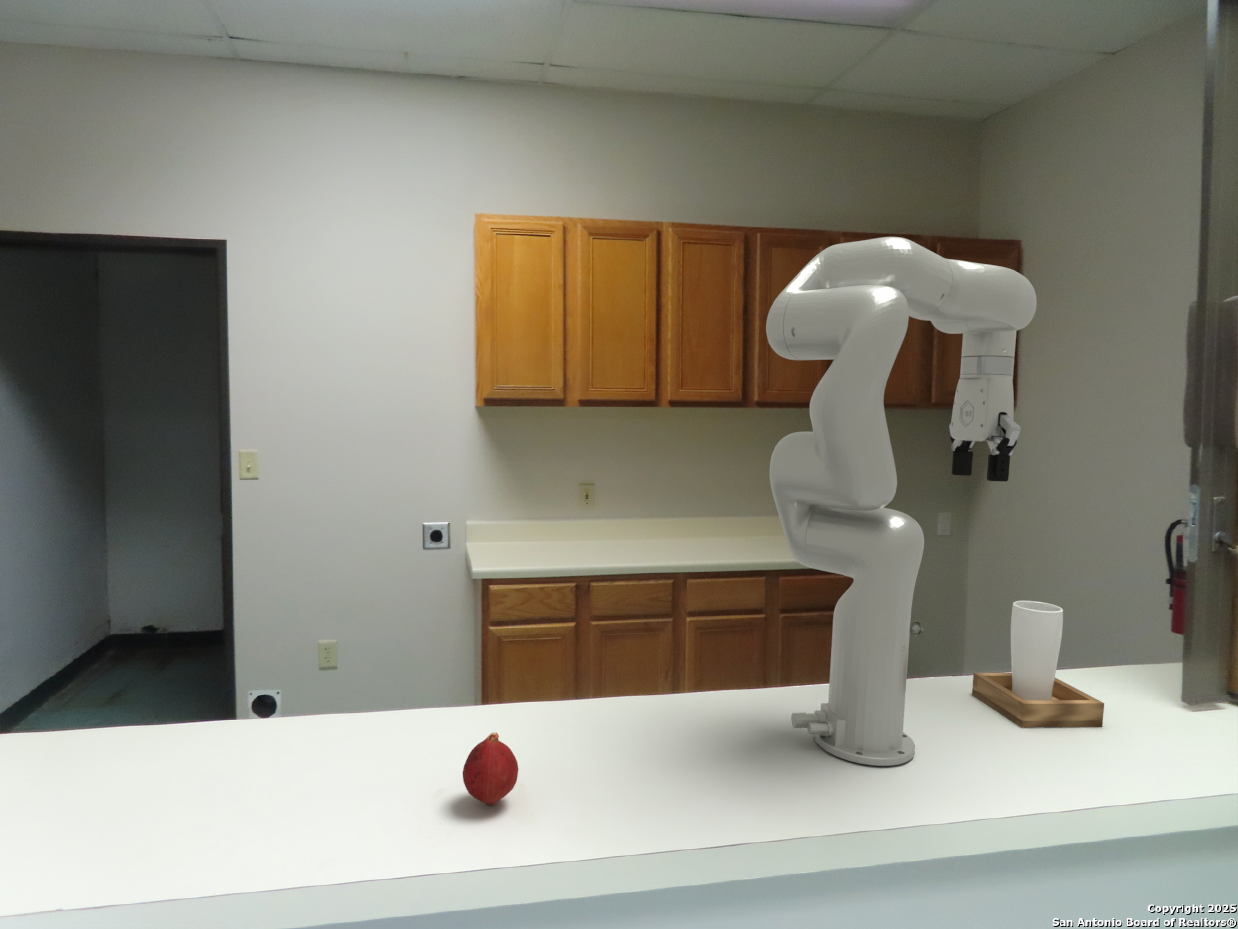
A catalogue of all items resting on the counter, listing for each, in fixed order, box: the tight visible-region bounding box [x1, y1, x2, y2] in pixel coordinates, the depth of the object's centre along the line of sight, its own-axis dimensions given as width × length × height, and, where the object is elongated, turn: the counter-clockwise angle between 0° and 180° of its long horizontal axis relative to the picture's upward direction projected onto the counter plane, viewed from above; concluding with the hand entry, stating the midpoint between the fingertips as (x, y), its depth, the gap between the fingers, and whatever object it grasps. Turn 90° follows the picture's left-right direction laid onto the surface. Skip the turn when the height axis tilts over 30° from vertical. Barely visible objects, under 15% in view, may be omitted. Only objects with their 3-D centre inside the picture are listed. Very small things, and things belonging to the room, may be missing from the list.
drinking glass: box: [1010, 600, 1064, 700], centre depth 113 cm, size 7×7×15 cm
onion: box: [462, 731, 519, 806], centre depth 81 cm, size 6×6×8 cm
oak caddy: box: [971, 672, 1105, 729], centre depth 113 cm, size 12×12×4 cm
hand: (978, 477), depth 119 cm, fingers open, 9 cm apart
